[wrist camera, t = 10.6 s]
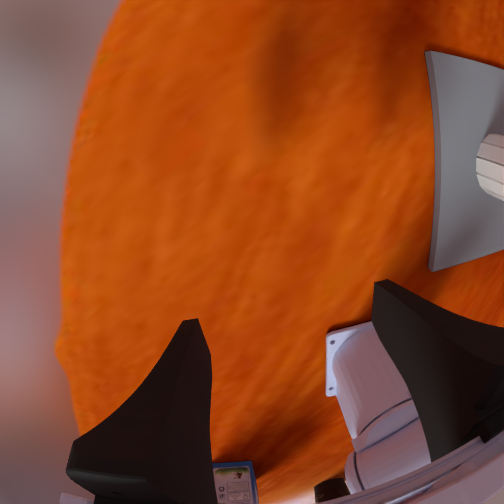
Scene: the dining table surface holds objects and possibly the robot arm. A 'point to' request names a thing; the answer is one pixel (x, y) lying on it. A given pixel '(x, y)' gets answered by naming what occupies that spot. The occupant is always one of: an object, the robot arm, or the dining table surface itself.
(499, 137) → the paper roll
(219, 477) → the milk carton
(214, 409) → the dining table surface
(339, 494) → the coffee mug
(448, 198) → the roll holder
